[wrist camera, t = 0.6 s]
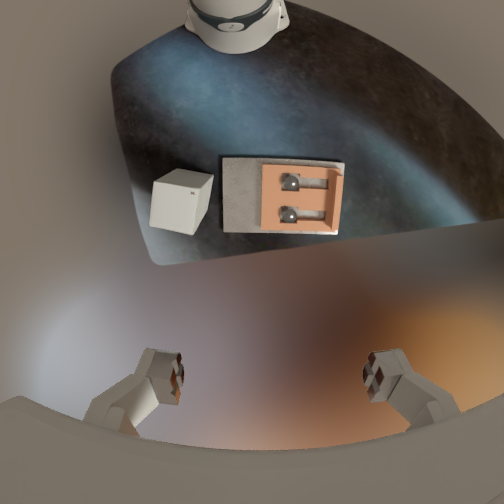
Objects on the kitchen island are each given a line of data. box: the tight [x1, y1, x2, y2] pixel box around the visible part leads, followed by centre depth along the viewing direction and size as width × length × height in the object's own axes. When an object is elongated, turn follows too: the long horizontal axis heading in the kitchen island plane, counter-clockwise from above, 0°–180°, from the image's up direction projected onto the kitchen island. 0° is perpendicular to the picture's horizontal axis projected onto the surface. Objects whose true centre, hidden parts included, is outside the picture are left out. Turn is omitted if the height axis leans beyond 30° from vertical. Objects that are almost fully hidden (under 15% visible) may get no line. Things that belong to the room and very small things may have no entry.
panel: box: [261, 164, 344, 232], centre depth 48 cm, size 12×14×3 cm
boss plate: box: [223, 157, 345, 235], centre depth 49 cm, size 14×22×3 cm, turn 89°
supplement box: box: [149, 169, 214, 235], centre depth 44 cm, size 7×7×13 cm
